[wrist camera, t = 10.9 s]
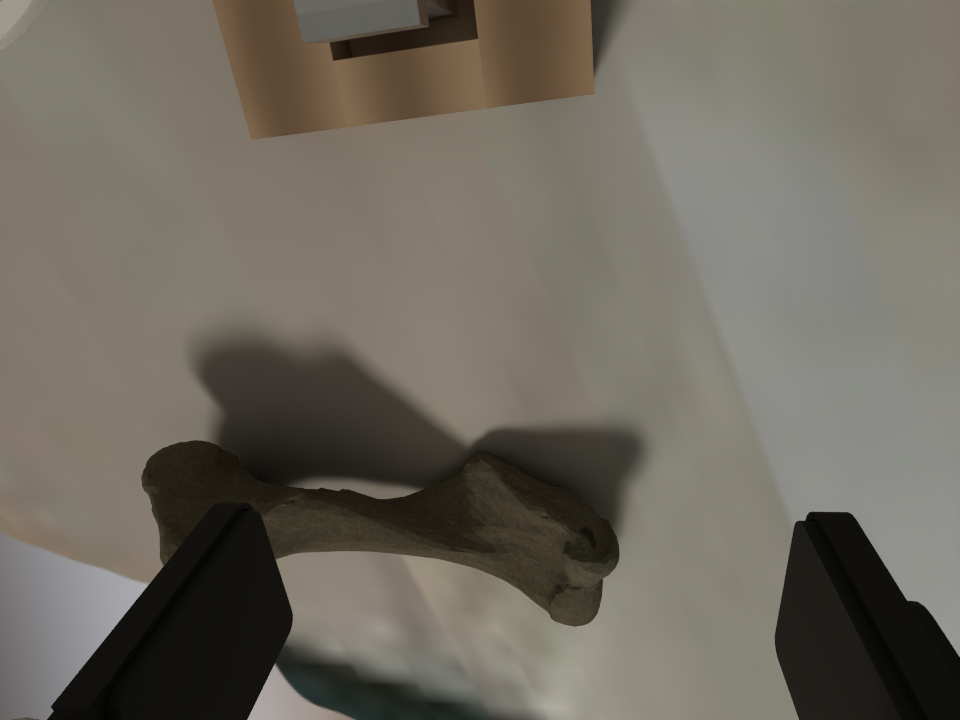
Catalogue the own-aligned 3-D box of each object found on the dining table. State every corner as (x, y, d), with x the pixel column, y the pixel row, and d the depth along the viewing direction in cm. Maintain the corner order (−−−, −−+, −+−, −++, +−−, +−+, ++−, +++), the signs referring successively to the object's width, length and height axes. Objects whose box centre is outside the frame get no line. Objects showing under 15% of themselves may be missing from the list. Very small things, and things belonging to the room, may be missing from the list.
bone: (649, 553, 34) (90, 501, 30) (597, 657, 40) (119, 624, 36) (610, 440, 42) (168, 387, 39) (571, 539, 48) (182, 502, 44)
